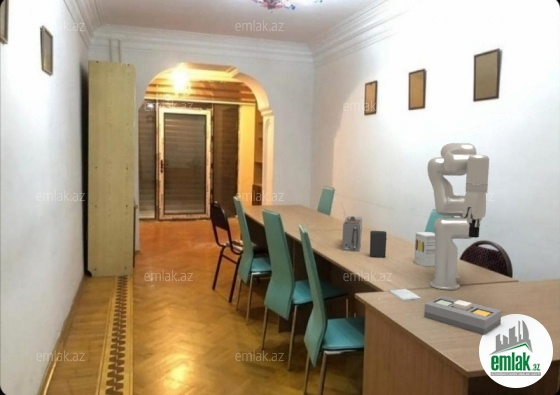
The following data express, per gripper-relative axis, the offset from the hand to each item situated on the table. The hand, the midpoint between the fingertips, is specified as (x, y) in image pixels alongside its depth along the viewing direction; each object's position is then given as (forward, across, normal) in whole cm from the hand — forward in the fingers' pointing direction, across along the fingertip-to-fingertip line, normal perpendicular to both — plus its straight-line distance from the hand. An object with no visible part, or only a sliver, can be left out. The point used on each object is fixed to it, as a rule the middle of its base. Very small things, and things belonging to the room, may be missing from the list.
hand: (473, 236), depth 171 cm
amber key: (+27, +11, +9) cm, 30 cm away
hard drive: (+30, +2, -27) cm, 40 cm away
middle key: (+25, +11, +2) cm, 27 cm away
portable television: (+29, -58, -101) cm, 120 cm away
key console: (+29, +11, +2) cm, 31 cm away
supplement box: (+29, -55, -48) cm, 79 cm away
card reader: (+29, -49, -75) cm, 94 cm away
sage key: (+27, +11, -5) cm, 29 cm away
